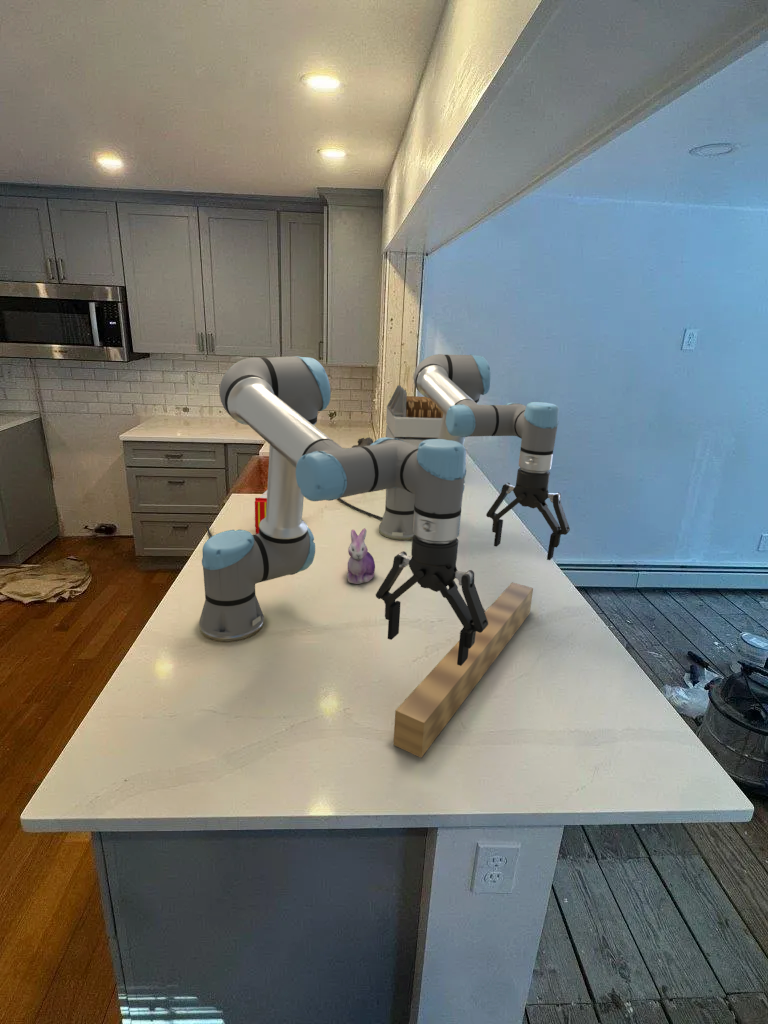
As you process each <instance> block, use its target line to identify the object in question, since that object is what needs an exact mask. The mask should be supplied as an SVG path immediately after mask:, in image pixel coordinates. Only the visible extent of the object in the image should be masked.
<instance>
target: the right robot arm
mask: <svg viewBox="0 0 768 1024" xmlns="http://www.w3.org/2000/svg"><path fill="white" fill-rule="evenodd" d="M413 384H414V387H415V388H416V390H417V391H418V393H419V394H421V396H422V397H427V398H430V399H431V400H432V401H433V402H434V403H435V404H436V405H437V406H438V407H439V408H440V410H441V411H442V412H443V418H442V423H441V428H440V432H439V437H438V439H445V440H452V441H456V442H459V443H461V444H462V445H463V446H464V443H465V440H466V438H468V437H517V438H519V439H520V440H521V442H520V448H519V456H518V457H519V458H518V467H519V468H518V469H517V473H516V481H515V485H513V484H511V483H510V482H506V483H504V484H503V485H502V486H501V491H500V493H499V495H498V497H496V499H495V501H494V502H493V503H492V505H491V506H490V508H489V509H488V511H487V512H486V514H485V515H486V517H487V518H490V519H491V520H492V528H491V532H492V533H494V541H493V547H496V548H497V547H498V546H500V544H501V540H502V534H503V525H504V519H502V517H503V516H505V515H506V514H507V513H509V511H511V510H512V509H513V508H515V506H517V505H518V504H519V505H520V506H521V507H525V508H526V507H528V508H530V509H537V510H538V512H540V513H541V515H542V517H543V518H544V520H545V521H546V523H547V524H548V526H549V528H550V529H551V531H552V532H551V534H550V537H549V543H548V548H547V555H546V560H548V561H551V560H552V559H553V558H554V553H555V549H556V548H558V547H559V546H560V542H561V536H562V535H564V536H565V535H567V534H568V533H569V532H571V528H570V525H569V522H568V519H567V516H566V514H565V510H564V507H563V504H562V493H561V492H559V491H557V492H556V493H553V492H549V484H550V477H551V472H550V471H551V469H552V464H553V457H554V449H555V445H556V444H555V443H556V437H557V431H558V425H559V413H560V408H559V406H558V405H556V404H555V403H549V402H544V401H531V402H528V403H527V404H523V403H520V402H508V403H506V404H478V403H479V402H480V399H481V396H485V395H487V394H488V393H489V392H490V389H491V384H492V373H491V368H490V363H489V362H488V360H487V358H485V356H482V355H475V354H444V353H438V354H432V355H430V356H427V357H426V358H424V359H422V360H421V361H420V362H419V363H418V364H417V365H416V368H415V369H414V373H413ZM465 482H466V481H465V480H464V484H465ZM464 491H465V486H464V487H463V492H464ZM510 493H513V494H514V496H515V499H513V500H512V501H511V502H510V503H508V504H507V505H506V506H505V507H504V508H503V509H501V510H500V511H499V512H498V513H496V512H497V511H498V509H499V507H500V506H501V505H502V503H503V502H504V500H505V499H506V497H508V495H509V494H510ZM548 499H549V500H550V501H549V502H550V503H552V507H553V511H554V513H555V516H556V517H555V516H554V514H553V513H552V511H551V510H550V508H549V505H548V503H547V502H546V500H548ZM337 500H338V501H339V502H341V503H342V504H344V505H346V506H347V507H349V508H351V509H353V510H355V511H358V512H360V513H362V514H364V515H367V516H369V517H372V518H375V519H378V520H380V521H381V522H379V525H378V533H379V534H380V535H381V536H382V537H385V538H387V539H389V540H395V541H410V540H411V541H412V537H413V535H414V533H413V522H414V504H415V494H414V493H411V492H408V491H406V490H404V489H401V488H396V487H395V488H389V489H385V504H384V505H385V507H384V508H385V509H384V513H383V515H382V516H380V515H377V514H374V513H371V512H369V511H366V510H364V509H361V508H359V507H356V506H355V505H352V504H351V503H348V502H347V501H345V500H344V499H343V498H338V499H337ZM556 518H557V519H556Z"/></svg>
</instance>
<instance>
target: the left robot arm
mask: <svg viewBox="0 0 768 1024" xmlns="http://www.w3.org/2000/svg"><path fill="white" fill-rule="evenodd" d="M219 399H220V402H221V404H222V406H223V407H222V408H224V411H226V413H227V414H228V415H229V416H230V417H231V418H232V419H233V420H235V421H236V423H239V424H241V425H246V426H249V427H250V428H251V429H252V430H253V431H254V432H255V433H256V434H258V435H259V436H260V437H261V438H262V439H263V440H264V441H265V442H266V443H268V444H269V451H268V469H267V471H268V473H267V489H266V490H267V508H266V517H265V518H264V519H262V520H261V521H260V524H259V533H258V534H256V533H255V534H252V532H251V531H249V530H245V529H237V530H235V529H230V530H224V531H221V532H218V533H216V534H214V535H213V534H212V533H211V531H210V527H209V525H206V531H207V534H208V536H209V538H208V539H207V540H206V541H205V542H204V544H203V545H202V549H201V550H202V558H201V566H202V571H203V573H202V574H203V584H204V596H205V599H204V604H203V607H202V610H201V614H200V617H199V622H198V627H199V632H200V634H201V635H202V636H203V637H204V638H205V639H208V640H210V641H213V642H216V643H217V642H218V643H219V642H220V643H237V642H241V641H244V640H248V639H250V638H252V637H254V636H256V635H257V634H258V633H260V632H261V631H262V630H263V628H264V626H265V615H264V613H263V610H262V608H261V607H262V606H261V605H260V603H259V600H258V598H257V596H256V595H257V594H256V584H260V583H262V582H267V581H271V580H274V579H278V578H282V577H286V576H292V575H295V574H298V573H299V572H303V571H305V570H307V569H309V567H311V565H312V564H313V562H314V560H315V555H316V543H315V542H314V541H315V536H314V534H313V532H312V530H311V528H309V527H308V524H307V522H306V521H305V520H303V511H304V501H305V499H306V500H308V501H311V502H323V501H335V500H338V498H341V499H343V498H346V497H352V496H357V495H360V494H361V495H362V494H367V493H373V492H377V491H383V490H386V489H389V488H395V487H396V488H401V489H404V490H406V491H408V492H411V493H414V494H415V504H414V522H413V533H414V535H413V537H412V539H411V550H410V551H411V552H410V555H411V556H409V555H408V553H407V552H406V551H405V550H404V551H401V552H399V553H398V554H396V555H394V557H393V560H392V561H393V562H392V567H391V569H390V570H389V572H388V573H387V575H386V577H385V578H384V580H383V581H382V583H381V585H380V586H379V588H378V589H377V590H376V591H377V592H376V593H375V598H376V599H378V600H382V601H383V603H384V606H385V607H384V617H385V620H387V621H388V623H387V625H388V626H387V639H388V640H390V641H392V640H393V639H394V638H395V637H397V636H398V634H399V633H400V619H401V603H402V602H401V601H399V600H397V599H399V598H400V597H401V596H403V594H405V592H407V591H409V589H411V587H413V586H414V585H415V584H416V583H417V584H418V585H419V586H420V588H423V589H429V590H431V591H433V592H436V593H438V592H440V594H441V596H442V597H443V598H445V599H446V600H447V602H448V604H449V605H450V607H451V609H452V610H453V612H454V614H455V616H456V617H457V619H458V620H459V622H460V624H461V625H462V628H461V630H460V631H459V632H460V633H459V640H458V641H459V650H458V660H457V665H460V666H462V664H463V663H464V662H465V661H466V660H467V658H468V650H469V649H470V648H471V647H472V646H473V644H474V643H475V635H476V631H477V632H479V633H481V632H482V631H483V630H484V629H485V628H486V627H487V626H488V620H487V618H486V615H485V612H486V611H485V609H484V607H483V603H482V600H481V599H480V596H479V593H478V589H477V587H476V584H475V572H474V571H473V570H472V569H469V570H468V571H463V570H458V567H457V559H458V551H459V539H458V538H459V537H460V530H461V518H462V507H463V496H464V495H463V494H464V491H463V487H464V488H465V483H464V480H465V479H466V475H467V467H466V466H467V451H466V448H465V446H464V444H463V445H462V444H461V443H459V442H456V441H452V440H445V439H428V440H424V441H422V442H421V443H420V444H419V447H418V446H415V445H412V444H409V443H406V442H404V441H403V440H400V439H396V438H394V439H393V438H388V437H386V436H385V437H380V438H377V439H376V440H374V441H373V443H372V444H371V445H370V446H361V447H354V448H352V447H342V446H341V445H340V444H339V443H337V442H336V441H334V440H333V439H332V438H330V437H329V436H328V435H327V434H326V433H324V432H323V431H322V430H320V429H319V428H318V427H316V424H317V423H318V414H319V412H323V411H325V410H326V409H327V408H328V406H329V404H330V401H331V384H330V380H329V376H328V374H327V372H326V370H325V368H324V366H323V364H321V362H320V361H318V360H317V359H315V358H313V357H309V356H308V357H307V356H306V357H305V356H299V355H295V356H271V357H269V356H268V357H258V356H257V357H247V358H243V359H241V360H239V361H237V362H235V363H234V364H232V365H231V366H230V367H229V368H228V369H227V370H226V371H225V373H224V375H223V376H222V378H221V380H220V385H219ZM304 498H305V499H304ZM408 566H409V569H410V571H411V573H412V576H411V577H409V578H408V579H407V580H406V581H404V583H402V584H401V585H400V586H399V587H397V588H396V590H394V591H393V592H390V590H391V589H392V588H393V586H394V584H395V583H396V581H397V580H398V578H399V577H400V575H401V573H402V571H403V570H404V568H406V567H408ZM455 579H456V580H457V581H458V585H457V583H456V582H455ZM459 586H461V590H462V594H461V593H460V591H459ZM462 595H463V596H462ZM463 597H464V598H463Z"/></svg>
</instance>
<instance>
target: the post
mask: <svg viewBox="0 0 768 1024" xmlns="http://www.w3.org/2000/svg"><path fill="white" fill-rule="evenodd" d="M533 592H534V587H530V586H528V585H523V584H520V583H516V582H514V581H513V582H510V584H508V586H507V587H506V588H505V590H504V591H503V592H501V594H500V595H499V596H498V597H497V598H496V599H495V600H494V602H492V604H491V605H490V606H489V607H488V608H487V609H486V611H484V612H485V615H486V618H487V620H488V626H487V627H486V628H485V629H484V630H483V631H482V632H481V633H479V632H477V631H476V635H475V643H474V644H473V646H472V647H471V648H470V649H469V650H468V658H467V660H466V661H465V662H464V663H463V664H462V666H460V665H457V660H458V650H459V640H457V642H456V643H455V644H454V646H452V647H451V649H450V650H449V651H448V652H447V653H446V654H445V655H444V657H443V658H442V659H441V660H439V662H437V664H436V665H435V666H434V668H432V670H431V671H430V672H429V673H428V674H427V675H426V676H425V678H423V679H422V681H420V682H419V684H418V685H417V686H416V687H415V688H414V690H412V691H411V693H410V694H408V696H407V697H406V698H405V699H404V701H403V702H402V703H400V705H399V706H398V707H397V708H396V709H395V713H394V716H395V717H394V728H393V729H394V731H393V746H395V747H397V748H399V749H401V750H404V751H406V752H408V753H409V754H412V755H414V756H415V757H418V758H421V759H422V758H423V757H424V755H425V754H426V752H427V751H428V750H429V748H430V747H431V746H432V745H433V743H434V742H435V741H436V740H437V738H438V736H440V734H441V732H442V731H443V730H444V728H445V727H446V726H447V725H448V723H449V722H450V721H451V719H452V718H453V717H454V715H455V714H456V713H457V711H458V710H459V709H460V707H461V706H462V705H463V704H464V702H465V701H466V699H467V698H468V697H469V695H470V694H471V692H472V691H473V690H474V689H475V688H476V686H477V685H478V683H479V682H480V681H481V679H482V678H483V676H485V674H486V673H487V671H488V670H489V669H490V667H491V666H492V664H494V662H495V661H496V659H497V658H498V657H499V655H500V654H501V652H502V651H503V650H504V649H505V647H506V646H507V645H508V643H509V642H510V641H511V639H512V638H513V637H514V635H515V634H516V633H517V631H518V630H519V629H520V627H521V626H522V624H523V623H524V622H525V621H526V619H527V618H528V616H529V615H530V614H531V608H532V607H531V606H532V600H533Z"/></svg>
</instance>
